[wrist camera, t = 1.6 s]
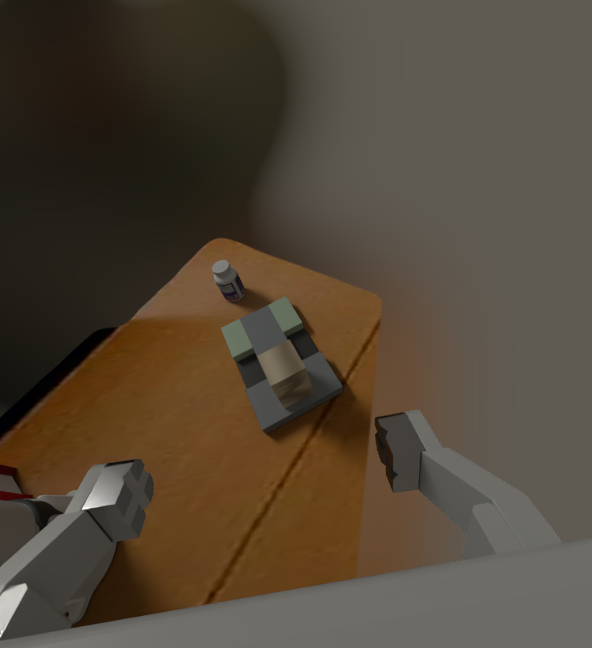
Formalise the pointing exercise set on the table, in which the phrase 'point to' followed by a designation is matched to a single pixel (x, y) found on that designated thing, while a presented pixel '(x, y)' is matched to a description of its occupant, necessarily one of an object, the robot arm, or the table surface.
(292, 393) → the birch block
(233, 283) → the pill bottle
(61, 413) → the table surface
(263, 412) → the board
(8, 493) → the book
